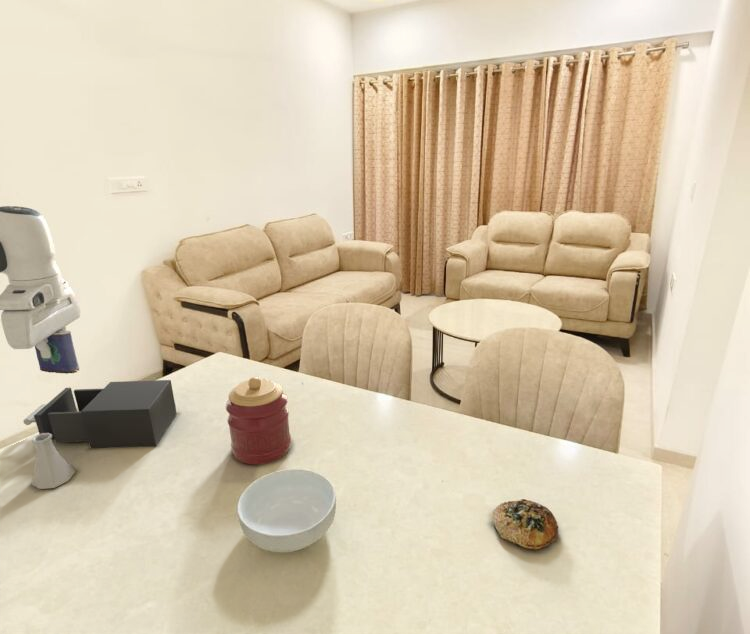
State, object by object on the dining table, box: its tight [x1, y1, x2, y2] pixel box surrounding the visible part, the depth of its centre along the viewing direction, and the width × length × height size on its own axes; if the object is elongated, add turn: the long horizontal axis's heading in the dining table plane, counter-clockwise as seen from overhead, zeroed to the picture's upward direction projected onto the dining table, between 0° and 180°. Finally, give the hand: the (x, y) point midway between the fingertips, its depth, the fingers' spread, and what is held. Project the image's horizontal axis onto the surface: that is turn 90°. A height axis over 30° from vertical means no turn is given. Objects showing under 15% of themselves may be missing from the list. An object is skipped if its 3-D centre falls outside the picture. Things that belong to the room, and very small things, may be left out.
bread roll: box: [492, 498, 559, 551], centre depth 87 cm, size 11×11×5 cm
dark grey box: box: [81, 379, 178, 450], centre depth 118 cm, size 15×15×10 cm
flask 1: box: [34, 330, 80, 375], centre depth 105 cm, size 9×3×11 cm, turn 77°
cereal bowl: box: [236, 468, 337, 554], centre depth 86 cm, size 17×17×7 cm
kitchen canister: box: [225, 376, 292, 466], centre depth 108 cm, size 13×13×18 cm
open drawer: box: [22, 387, 104, 443], centre depth 117 cm, size 18×13×8 cm
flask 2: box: [31, 433, 76, 490], centre depth 101 cm, size 7×7×10 cm
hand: (54, 352), depth 106 cm, fingers closed on flask 1, 3 cm apart
